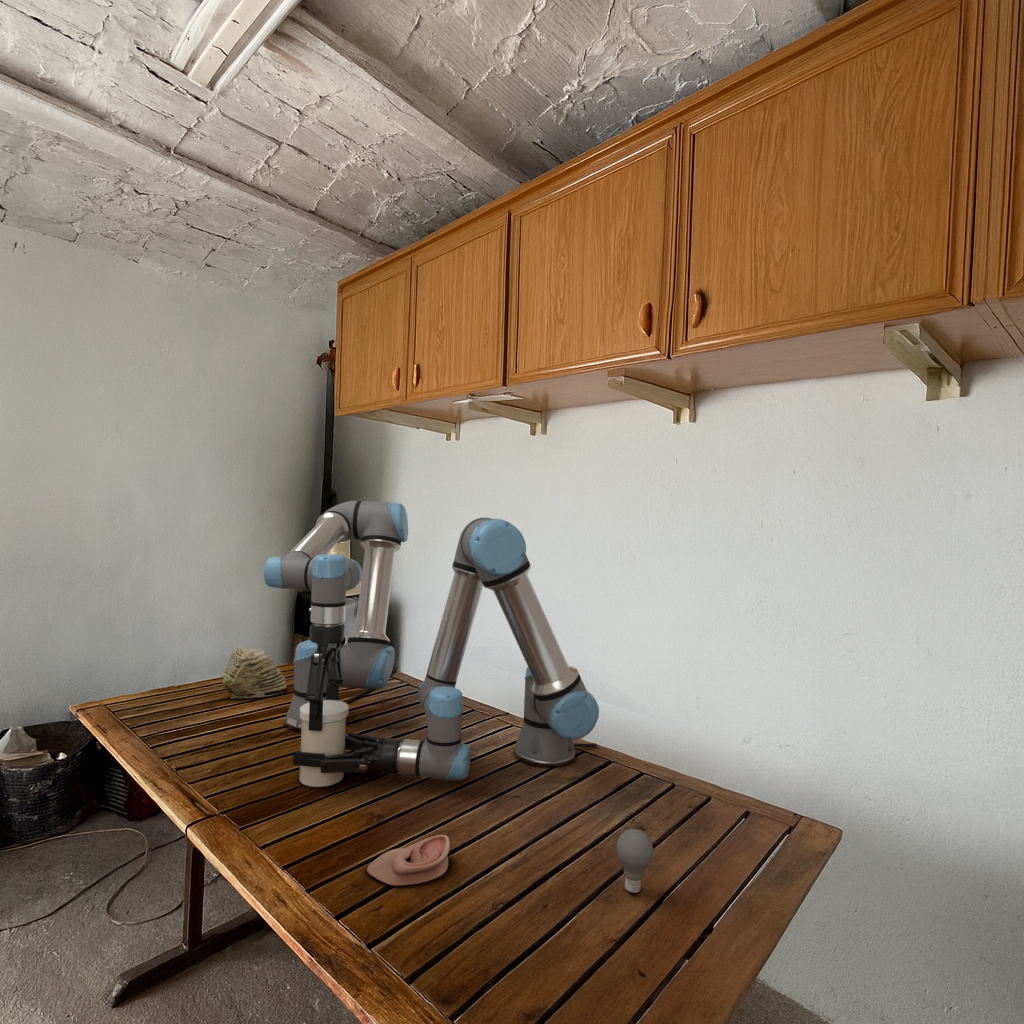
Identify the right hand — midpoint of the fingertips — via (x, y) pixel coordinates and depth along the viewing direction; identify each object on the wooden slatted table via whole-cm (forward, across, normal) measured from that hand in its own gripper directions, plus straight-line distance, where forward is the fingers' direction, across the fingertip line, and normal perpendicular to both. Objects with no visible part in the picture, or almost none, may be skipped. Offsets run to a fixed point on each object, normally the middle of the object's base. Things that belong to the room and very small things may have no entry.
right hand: (304, 748), depth 143 cm
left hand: (-4, 0, +7) cm, 8 cm away
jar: (-4, 0, -6) cm, 7 cm away
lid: (-4, 0, +10) cm, 10 cm away
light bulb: (-71, -31, -6) cm, 78 cm away
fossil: (+38, +51, -6) cm, 64 cm away
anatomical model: (-33, -31, -6) cm, 45 cm away
